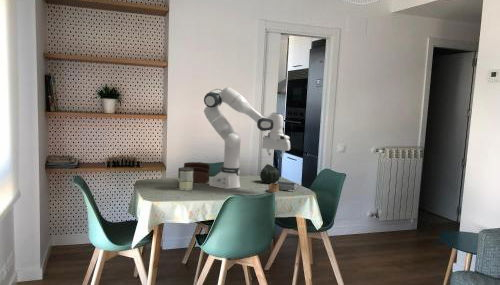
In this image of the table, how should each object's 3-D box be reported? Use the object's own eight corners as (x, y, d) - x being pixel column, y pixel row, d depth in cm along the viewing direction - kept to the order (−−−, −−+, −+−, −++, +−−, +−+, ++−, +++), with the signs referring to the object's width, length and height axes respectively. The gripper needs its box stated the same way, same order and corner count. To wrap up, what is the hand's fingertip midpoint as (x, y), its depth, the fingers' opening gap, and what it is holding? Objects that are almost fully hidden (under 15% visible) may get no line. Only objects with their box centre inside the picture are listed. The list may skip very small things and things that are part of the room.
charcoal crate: (273, 189, 293) (273, 184, 292) (277, 186, 305) (277, 181, 305) (293, 191, 289) (294, 186, 288) (296, 188, 301) (297, 183, 301)
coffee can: (174, 188, 280) (175, 167, 279) (187, 186, 287) (187, 166, 286) (183, 191, 273) (184, 170, 271) (195, 189, 280) (196, 169, 279)
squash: (281, 178, 308) (279, 161, 317) (262, 178, 306) (260, 161, 315) (278, 187, 320) (276, 171, 329) (259, 188, 318) (257, 171, 326)
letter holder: (183, 179, 312) (184, 161, 311) (209, 181, 311) (210, 163, 310) (180, 182, 302) (181, 163, 301) (207, 183, 301) (207, 165, 300)
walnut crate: (268, 192, 284) (268, 185, 283) (271, 189, 292) (271, 183, 292) (276, 193, 282) (276, 186, 282) (278, 190, 291) (279, 183, 290)
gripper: (261, 135, 285) (260, 155, 286) (288, 137, 275) (287, 157, 277) (265, 135, 291) (264, 154, 292) (291, 137, 281) (290, 156, 282)
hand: (275, 156), depth 284 cm, fingers open, 8 cm apart
